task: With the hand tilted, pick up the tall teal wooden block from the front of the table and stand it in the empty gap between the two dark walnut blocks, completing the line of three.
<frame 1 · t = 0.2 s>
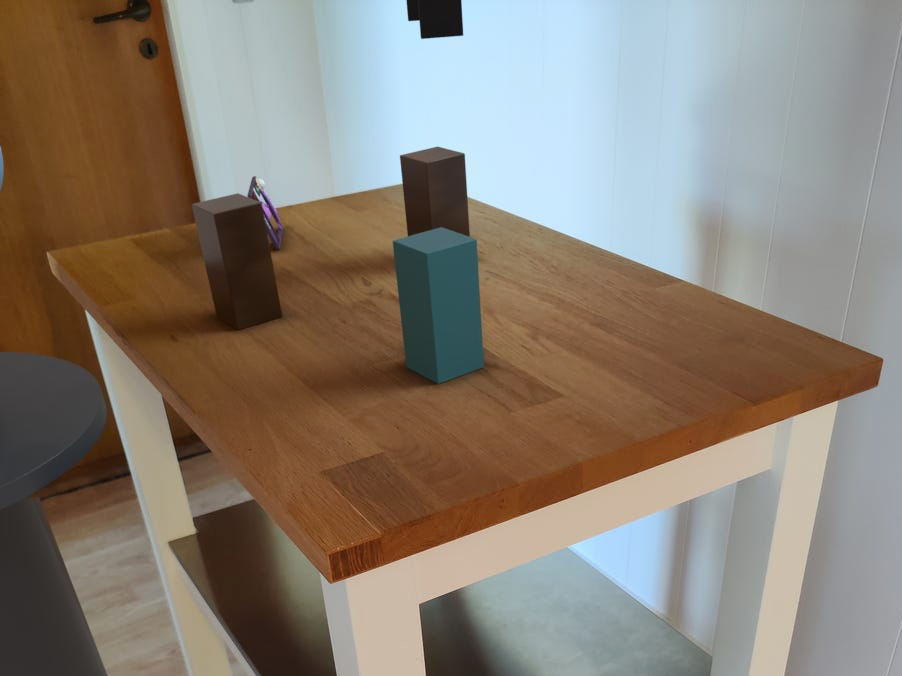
hand: (433, 28, 69), 26 cm above the table, tool pointing down, fingers open, 13 cm apart
walnut block front: (249, 317, 101), on the table
walnut block back: (440, 260, 112), on the table
purple open frame: (262, 242, 121), on the table
teal block: (444, 367, 88), on the table
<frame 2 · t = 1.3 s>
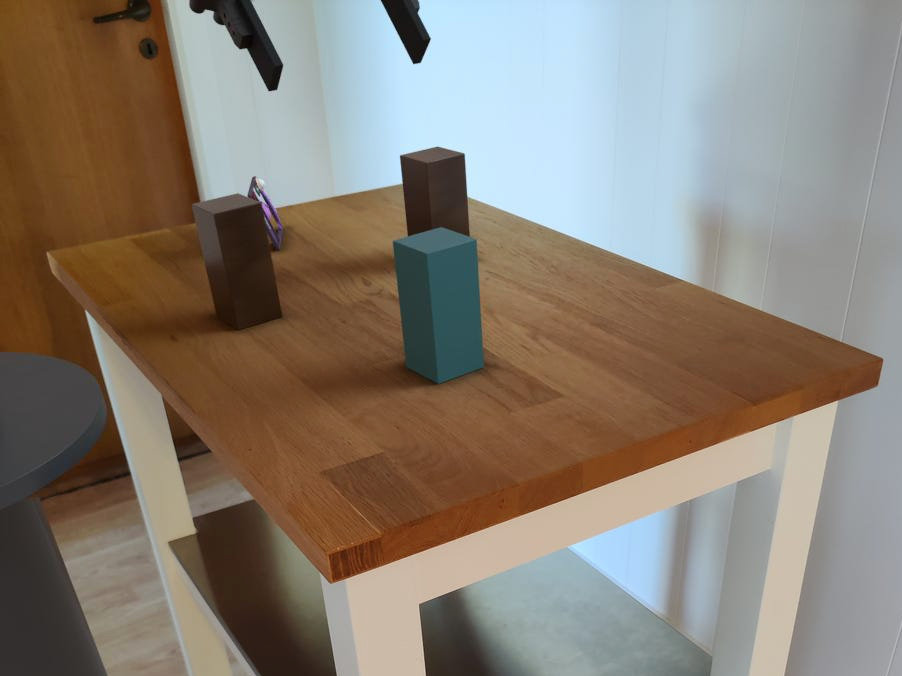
hand: (351, 65, 80), 23 cm above the table, tool tilted 45°, fingers open, 13 cm apart
nothing on the table moved.
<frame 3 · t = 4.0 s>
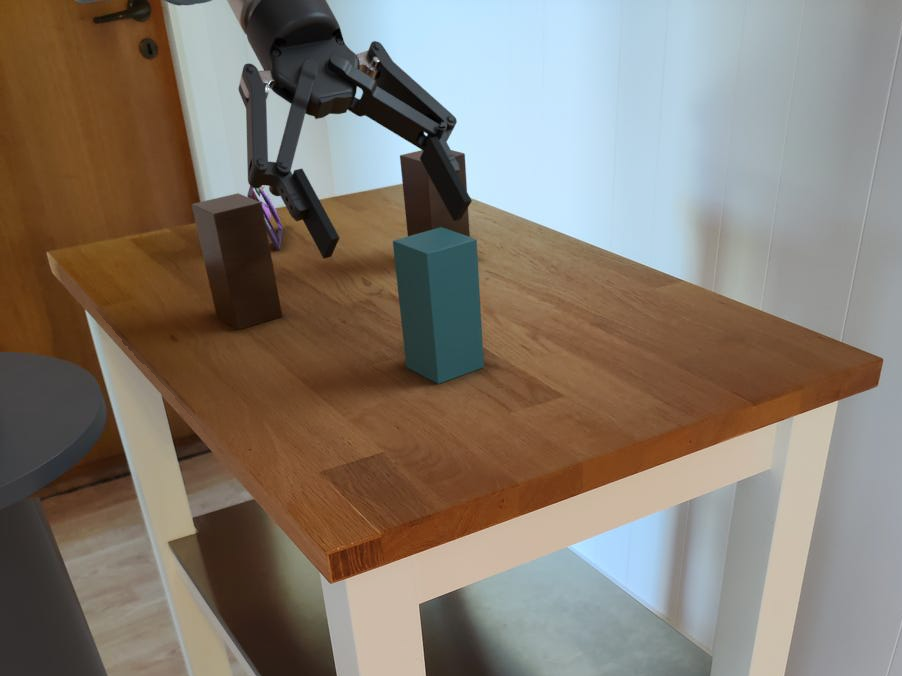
hand: (399, 229, 85), 11 cm above the table, tool tilted 45°, fingers open, 13 cm apart
nothing on the table moved.
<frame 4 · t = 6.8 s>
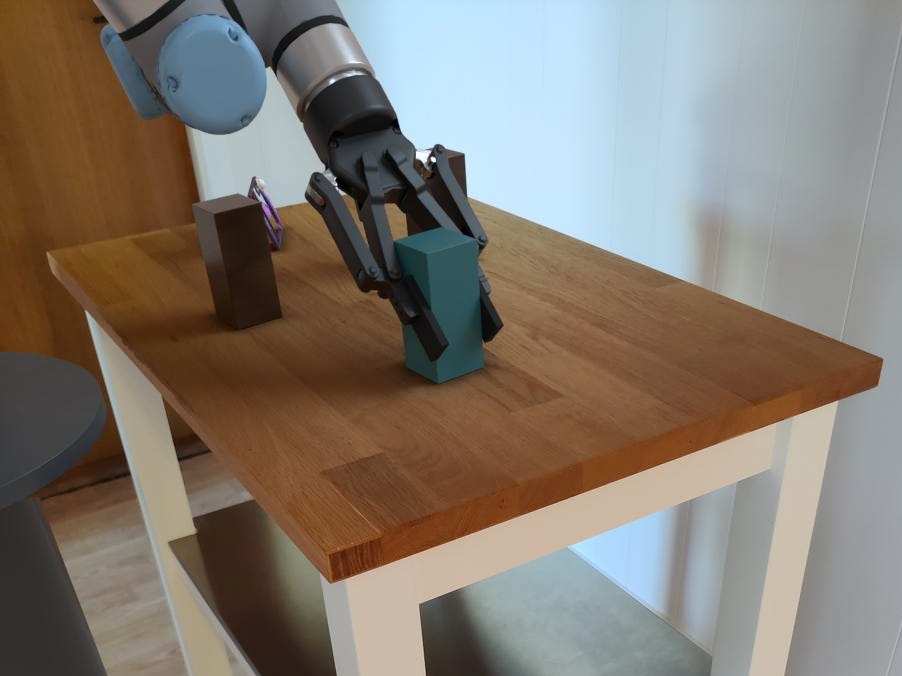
hand: (467, 343, 84), 3 cm above the table, tool tilted 45°, fingers closed on teal block, 5 cm apart
teal block: (444, 367, 88), on the table, touching gripper
everything else where it was.
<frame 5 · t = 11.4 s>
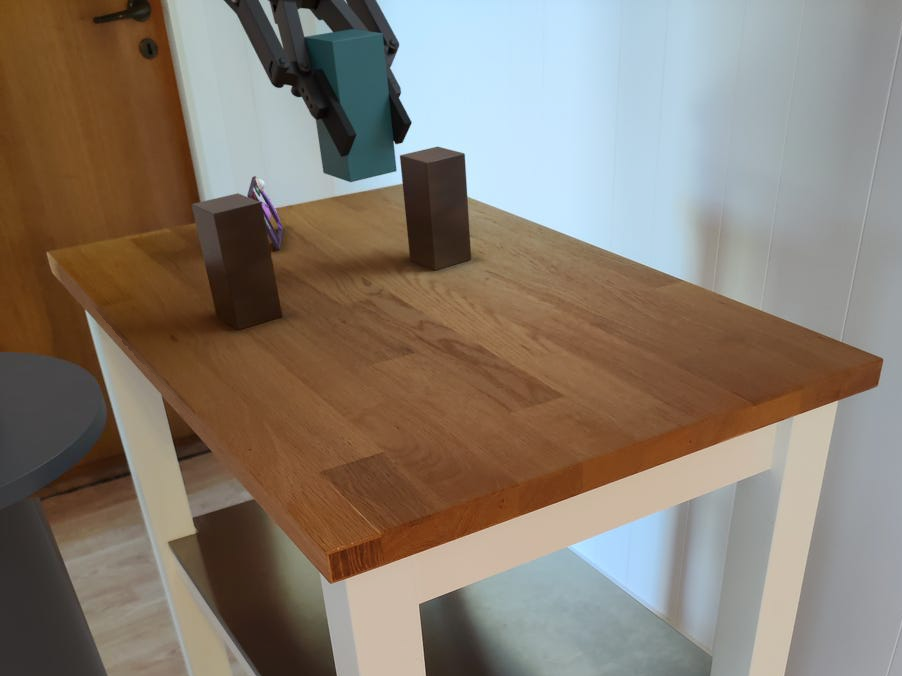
hand: (376, 139, 88), 16 cm above the table, tool tilted 45°, fingers closed on teal block, 5 cm apart
teal block: (359, 172, 92), point 13 cm above the table, touching gripper
everything else where it was.
when the fingers open (3 cm above the table, at t = 16.2 s): teal block stays where it is, on the table.
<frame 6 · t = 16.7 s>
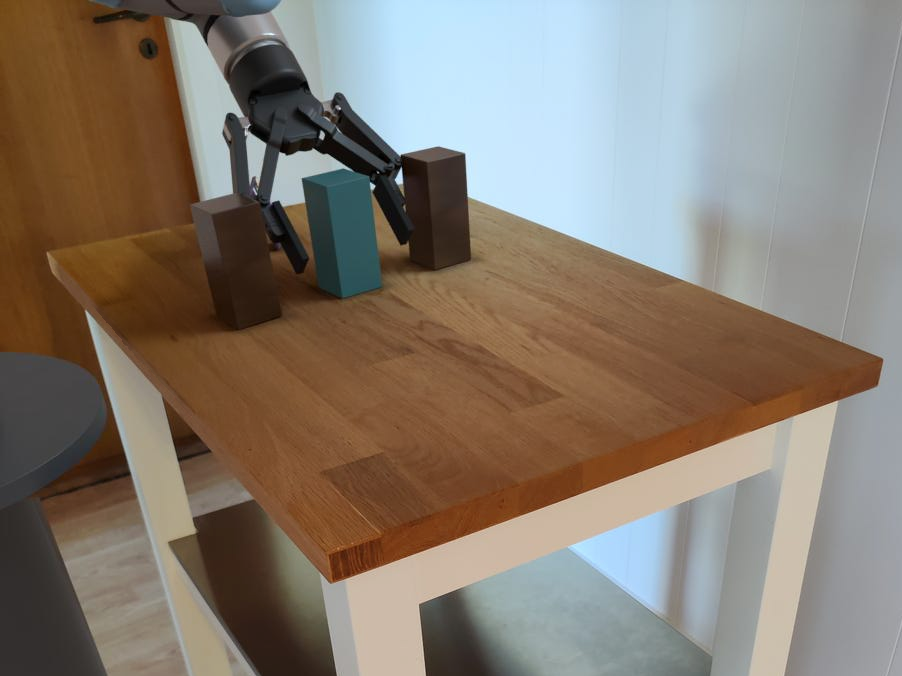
hand: (356, 251, 102), 4 cm above the table, tool tilted 45°, fingers open, 12 cm apart
walnut block back: (440, 259, 112), on the table, touching gripper, hand
teal block: (350, 287, 106), on the table
everything else where it was.
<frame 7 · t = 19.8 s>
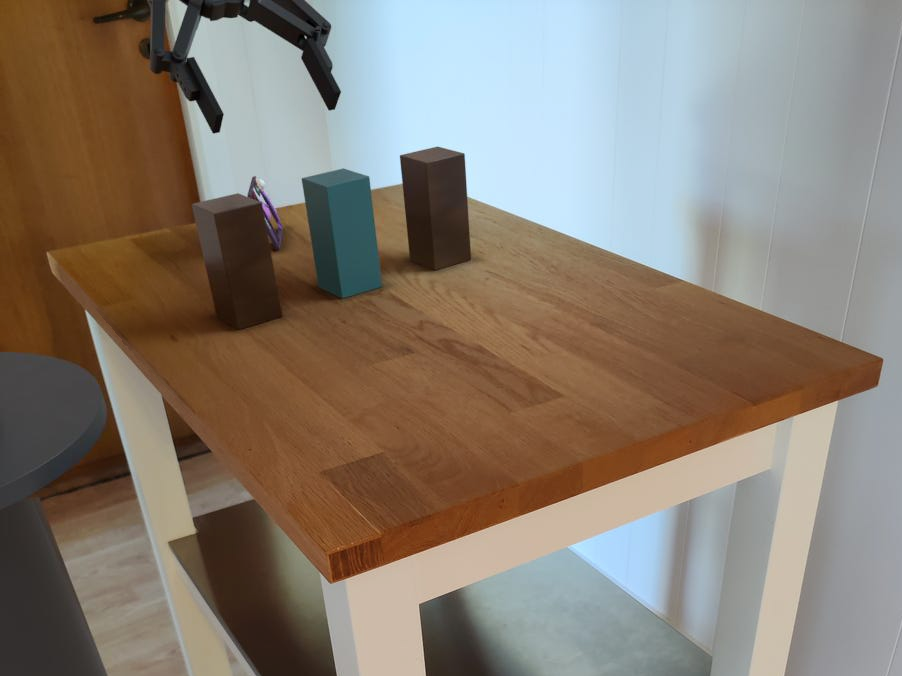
hand: (278, 112, 103), 16 cm above the table, tool tilted 45°, fingers open, 13 cm apart
walnut block back: (440, 260, 112), on the table
everything else where it was.
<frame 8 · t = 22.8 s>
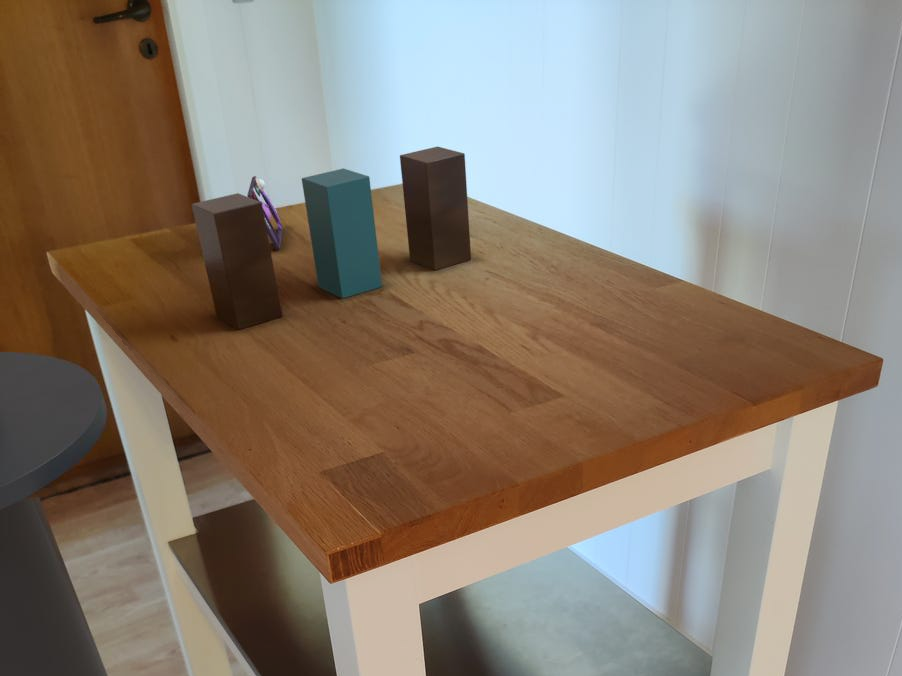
nothing on the table moved.
at the end: teal block 0.0 cm from the target spot on the table beside the walnut block front, on the table; teal block tilted 0°; walnut block back moved 0.0 cm from its start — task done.
